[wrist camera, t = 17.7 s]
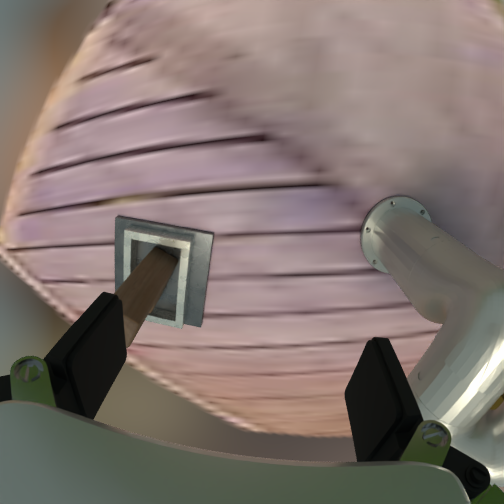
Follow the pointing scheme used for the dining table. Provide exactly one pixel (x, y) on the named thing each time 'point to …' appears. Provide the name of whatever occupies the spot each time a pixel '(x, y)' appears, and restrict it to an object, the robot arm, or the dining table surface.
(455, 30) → the dining table surface
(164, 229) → the end cap
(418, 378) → the robot arm
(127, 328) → the wooden block
